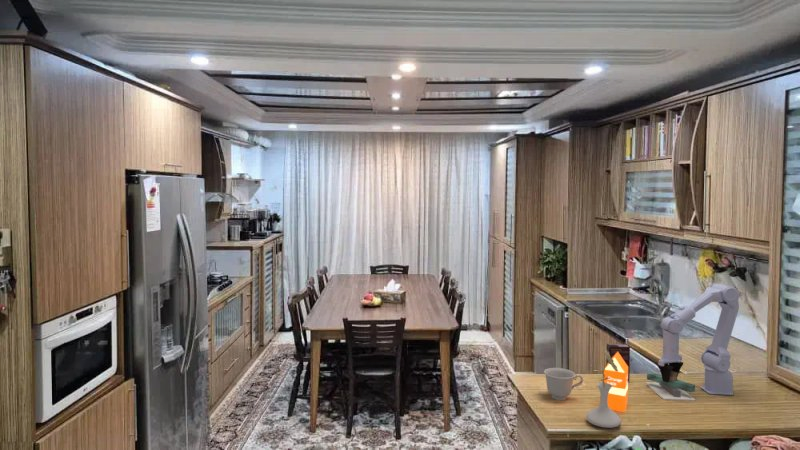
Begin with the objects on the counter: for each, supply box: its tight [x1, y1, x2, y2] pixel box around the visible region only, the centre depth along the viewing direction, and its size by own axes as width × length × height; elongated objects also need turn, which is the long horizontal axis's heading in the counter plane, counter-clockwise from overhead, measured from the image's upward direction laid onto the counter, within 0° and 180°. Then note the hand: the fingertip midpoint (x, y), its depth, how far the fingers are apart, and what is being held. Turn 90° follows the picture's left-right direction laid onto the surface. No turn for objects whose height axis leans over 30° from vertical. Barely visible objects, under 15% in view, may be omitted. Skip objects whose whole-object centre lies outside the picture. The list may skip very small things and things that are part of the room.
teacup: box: [543, 367, 584, 401], centre depth 198 cm, size 12×15×10 cm
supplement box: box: [605, 343, 631, 384], centre depth 218 cm, size 9×5×16 cm, turn 84°
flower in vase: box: [585, 350, 622, 429], centre depth 175 cm, size 13×11×25 cm
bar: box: [646, 371, 696, 393], centre depth 205 cm, size 18×3×6 cm, turn 34°
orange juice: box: [603, 352, 629, 413], centre depth 191 cm, size 8×9×20 cm
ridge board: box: [645, 381, 697, 402], centre depth 206 cm, size 12×18×3 cm, turn 175°
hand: (669, 380), depth 205 cm, fingers open, 6 cm apart
